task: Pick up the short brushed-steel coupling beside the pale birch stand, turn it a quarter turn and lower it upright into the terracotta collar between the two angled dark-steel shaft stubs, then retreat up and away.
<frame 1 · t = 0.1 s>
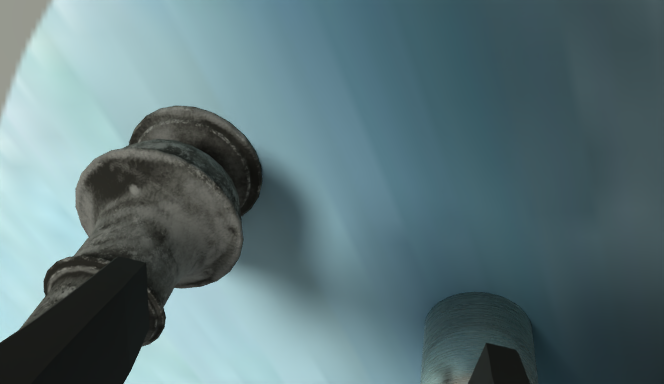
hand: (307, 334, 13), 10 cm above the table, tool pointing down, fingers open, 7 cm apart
grey flanged cylinder: (197, 165, 24), on the table
steel coupling: (477, 330, 26), on the table
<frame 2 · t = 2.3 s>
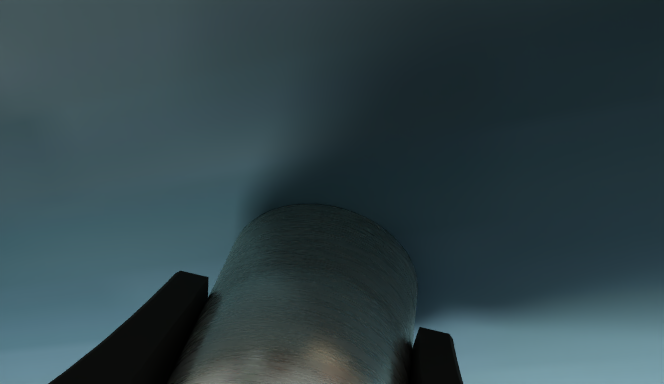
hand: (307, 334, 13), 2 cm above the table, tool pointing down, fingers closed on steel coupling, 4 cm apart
steel coupling: (322, 281, 14), on the table, touching gripper
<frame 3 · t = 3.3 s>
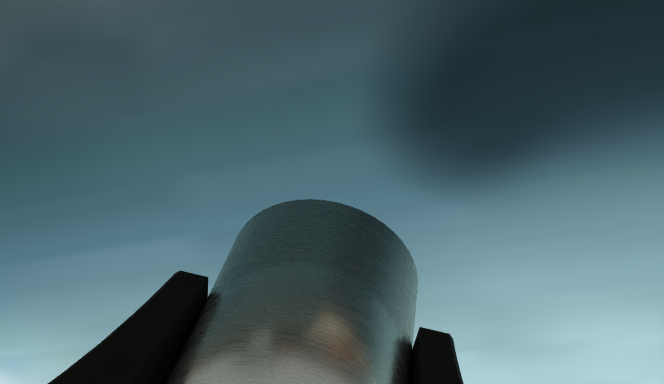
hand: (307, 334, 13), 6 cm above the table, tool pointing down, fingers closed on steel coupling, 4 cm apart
steel coupling: (322, 276, 14), point 4 cm above the table, touching gripper
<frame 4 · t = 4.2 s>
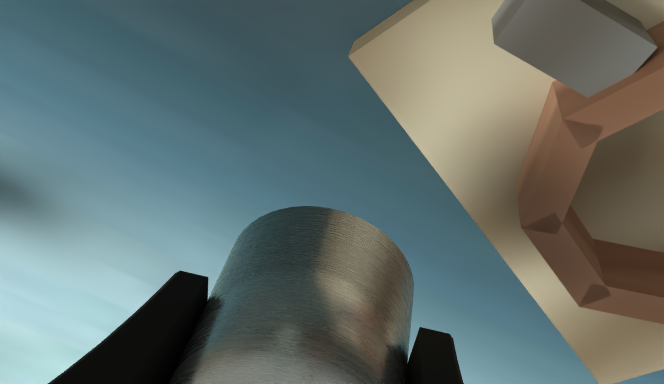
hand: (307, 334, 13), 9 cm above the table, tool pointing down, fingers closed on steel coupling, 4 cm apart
steel coupling: (320, 281, 14), point 7 cm above the table, touching gripper
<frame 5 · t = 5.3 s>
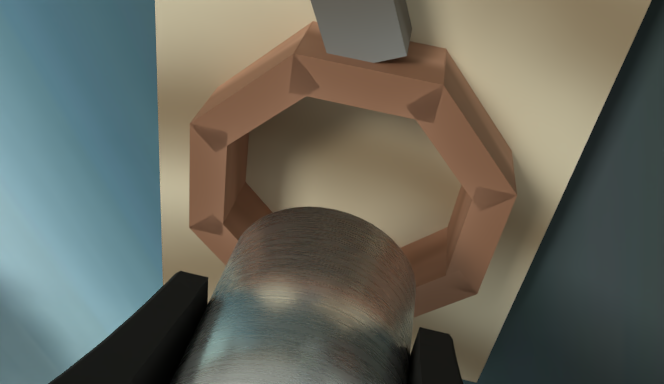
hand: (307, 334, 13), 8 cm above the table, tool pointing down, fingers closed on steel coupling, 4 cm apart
steel coupling: (322, 282, 14), point 6 cm above the table, touching gripper
coupling stand: (358, 148, 19), on the table
when the fingers open (4 cm above the table, at t = 6.9 s): steel coupling stays where it is, resting on coupling stand.
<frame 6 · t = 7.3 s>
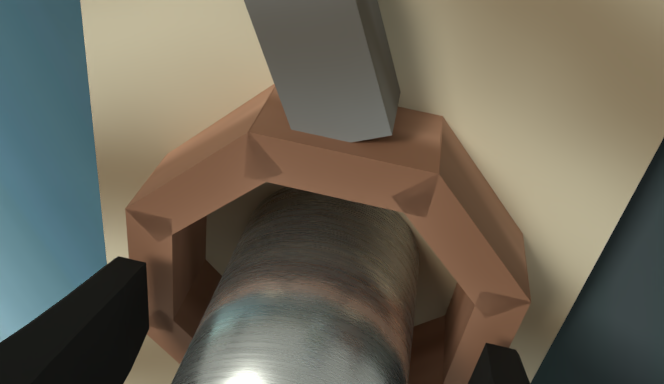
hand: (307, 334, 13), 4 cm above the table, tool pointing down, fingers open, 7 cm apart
steel coupling: (330, 255, 15), point 1 cm above the table, touching coupling stand
coupling stand: (339, 219, 16), on the table
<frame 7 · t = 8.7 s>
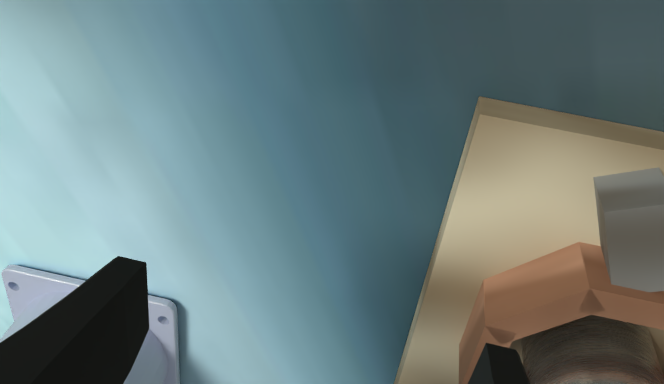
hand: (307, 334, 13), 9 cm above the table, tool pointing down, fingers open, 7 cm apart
steel coupling: (584, 342, 22), point 1 cm above the table, touching coupling stand
coupling stand: (580, 314, 23), on the table
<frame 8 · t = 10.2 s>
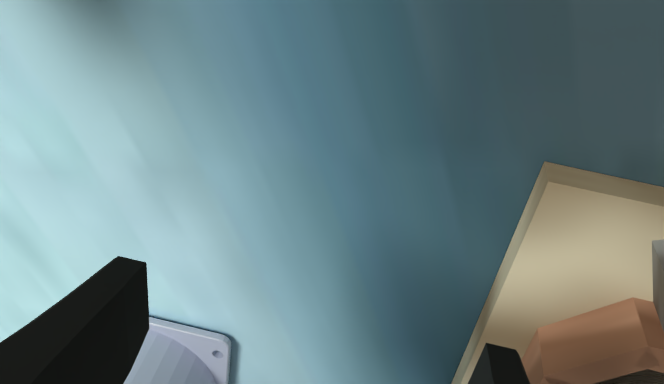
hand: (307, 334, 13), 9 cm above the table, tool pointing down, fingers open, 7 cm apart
coupling stand: (624, 359, 24), on the table
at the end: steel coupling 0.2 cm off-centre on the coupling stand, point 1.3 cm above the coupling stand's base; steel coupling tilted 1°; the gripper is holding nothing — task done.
